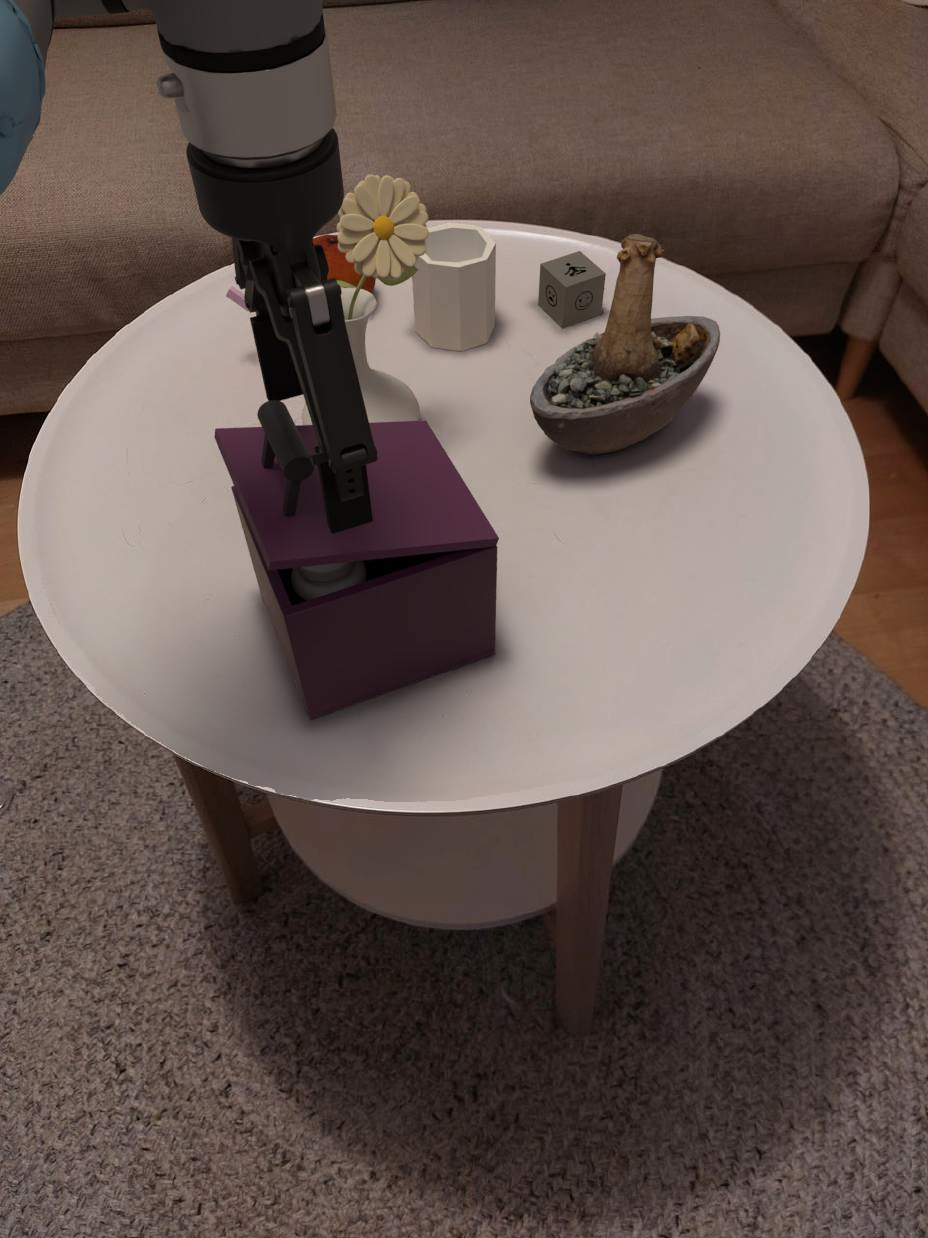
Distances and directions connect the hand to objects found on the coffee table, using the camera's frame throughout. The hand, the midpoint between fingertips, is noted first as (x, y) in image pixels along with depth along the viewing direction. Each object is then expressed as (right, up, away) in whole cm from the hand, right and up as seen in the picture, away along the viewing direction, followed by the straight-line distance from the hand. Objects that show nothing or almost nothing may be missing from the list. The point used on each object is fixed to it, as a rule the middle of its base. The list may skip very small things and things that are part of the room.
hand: (316, 456), depth 65 cm
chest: (+2, -11, +16) cm, 20 cm away
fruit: (-4, +24, +44) cm, 50 cm away
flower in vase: (+1, +8, +31) cm, 32 cm away
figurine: (-8, +16, +38) cm, 42 cm away
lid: (+2, -2, +4) cm, 5 cm away
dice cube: (+21, +23, +43) cm, 53 cm away
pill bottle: (0, -12, +15) cm, 19 cm away
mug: (+9, +22, +42) cm, 48 cm away
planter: (+25, +7, +30) cm, 39 cm away
